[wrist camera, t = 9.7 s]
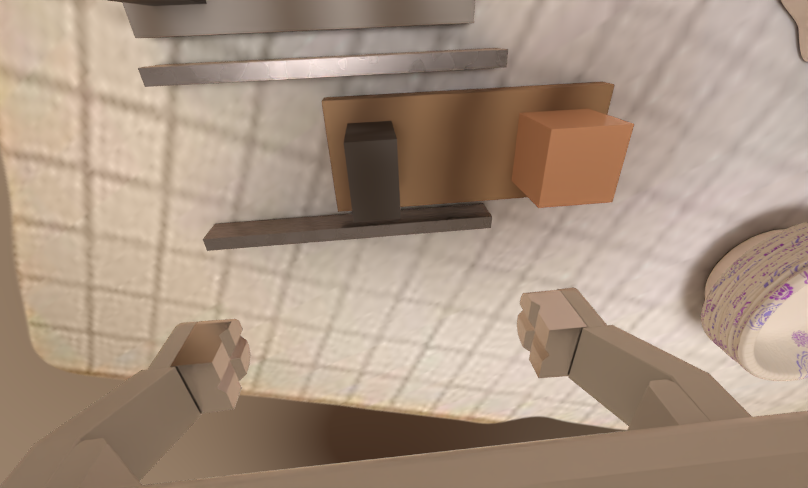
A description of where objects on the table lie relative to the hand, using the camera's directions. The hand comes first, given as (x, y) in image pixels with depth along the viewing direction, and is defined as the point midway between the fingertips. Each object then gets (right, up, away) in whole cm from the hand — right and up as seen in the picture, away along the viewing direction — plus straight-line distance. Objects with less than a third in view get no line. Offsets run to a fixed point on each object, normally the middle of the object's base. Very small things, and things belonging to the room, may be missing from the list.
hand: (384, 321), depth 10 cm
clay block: (+11, +10, +16) cm, 22 cm away
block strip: (+5, +10, +17) cm, 20 cm away
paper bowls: (+36, 0, +27) cm, 45 cm away
